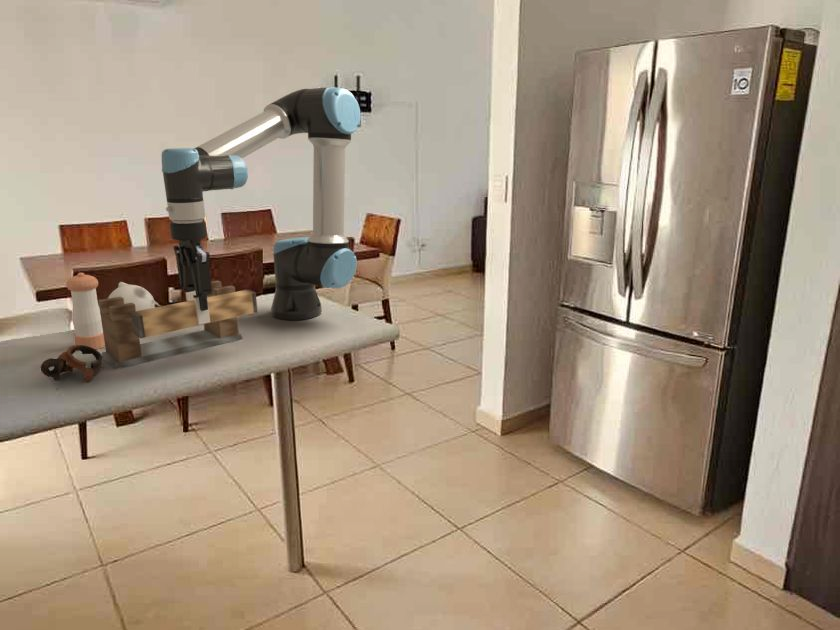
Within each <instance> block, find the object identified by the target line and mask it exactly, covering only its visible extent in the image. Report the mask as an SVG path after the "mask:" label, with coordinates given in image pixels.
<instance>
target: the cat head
mask: <svg viewBox="0 0 840 630" xmlns="http://www.w3.org/2000/svg"><path fill="white" fill-rule="evenodd" d="M120 296H121V297H122V298H123V299H124V304H127V303H133V304H135V309H136V311H140V310H145V309H151V308H156V305H157V306H158V307H161V305H160V304H159V302H157V301H155V299H154V296H153V295H152V293H150V292H149V291H148V290H147V289H145V288H144V287H143V286H139V285H137V284H128V283H125V282H123V281H120V282H118V287H117V288H115V289H114V290H112V292H111V293H110V294H109V296H108V297H107V299H108V298H114V297H120Z"/></svg>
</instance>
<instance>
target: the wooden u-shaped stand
mask: <svg viewBox="0 0 840 630" xmlns="http://www.w3.org/2000/svg"><path fill="white" fill-rule="evenodd" d="M211 287H212V294H210V295H208V296H207V297H212V296H217V295H222V294H228V293H233V292H236V287H235V286H233V285H227V286H222V281H220V280H214V281H213V280H211ZM97 301H98V306H99V309H100V315H101V322H102V328H103V335H104V342H105V347H104V349H105V351H102V352H101V355H102V357H103V358H102V360H104V361H105V362H107V363H108V364H109V365H110V366H111V367H113V368H114V369H116V370H117V369H122V368H127V367H131V366H135V365H138V364H144V363H148V362H151V361H156V360H160V359H164V358H168V357H173V356H176V355H181V354H184V353H185V354H186V353H189V352H193V351H197V350H203V349H206V348H209V347H210V348H211V347H214V346H218V345H223V344H226V343H227V344H228V343H231V342H232V343H233V342H235V341H239V340H243V333H242V332H239V323H238V317H234V318H229V319H225V320H220V321H216V322H212V323H207V324H203V330H199V331H195V332H194V331H193V332H189V333H186V334H180V335H175V336H172V337H167V338H161V339H158V340H153V341H147V342H143V343H141V341H140V339H141V338H139V337H138V336H136V335H135V334H134V331H133V324H132V318H131V312H135V311H136V309H135V304H133V303H127V304H124V299H123V298H122V297H121V296H120V297H114V298H108V297H107V298H103V299H97Z"/></svg>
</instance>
